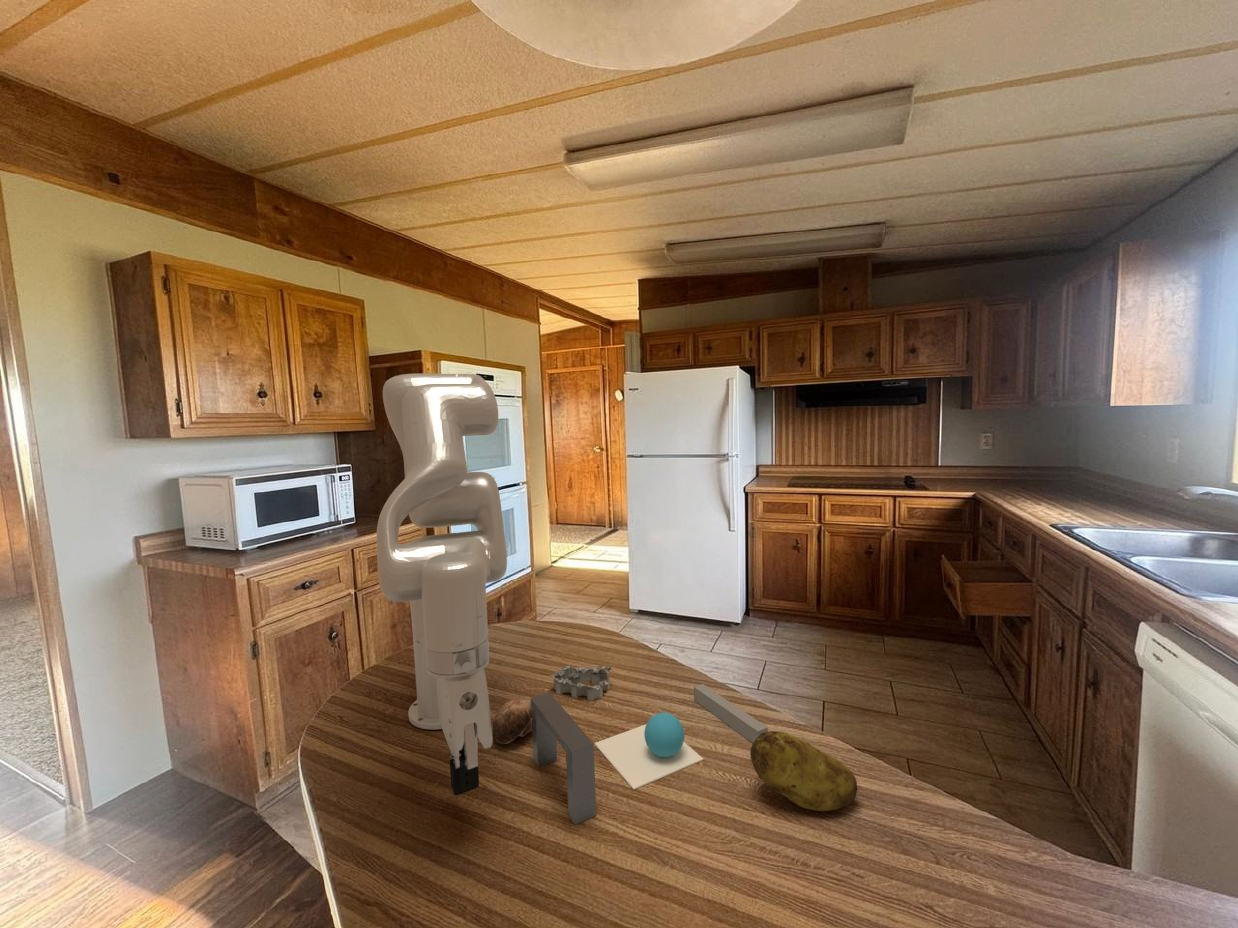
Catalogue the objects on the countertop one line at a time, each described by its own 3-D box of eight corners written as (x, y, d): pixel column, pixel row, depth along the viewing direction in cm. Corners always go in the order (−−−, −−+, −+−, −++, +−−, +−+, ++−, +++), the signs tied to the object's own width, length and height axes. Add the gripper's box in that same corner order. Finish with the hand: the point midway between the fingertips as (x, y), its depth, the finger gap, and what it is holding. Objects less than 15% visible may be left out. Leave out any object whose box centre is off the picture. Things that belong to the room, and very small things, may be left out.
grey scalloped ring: (614, 686, 101) (614, 666, 100) (596, 705, 94) (595, 684, 94) (569, 676, 105) (568, 657, 105) (548, 693, 99) (547, 673, 98)
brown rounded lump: (554, 708, 87) (530, 683, 86) (534, 752, 80) (507, 725, 79) (524, 718, 91) (500, 694, 90) (502, 761, 84) (476, 736, 83)
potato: (849, 839, 62) (849, 775, 62) (744, 800, 69) (743, 742, 68) (859, 795, 69) (860, 738, 69) (763, 764, 76) (762, 711, 75)
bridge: (574, 824, 66) (571, 751, 65) (533, 759, 79) (530, 697, 78) (596, 815, 67) (593, 743, 67) (552, 753, 80) (549, 692, 80)
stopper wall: (694, 700, 94) (693, 686, 94) (703, 696, 95) (702, 683, 95) (758, 746, 80) (758, 731, 80) (767, 742, 81) (767, 727, 81)
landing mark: (594, 744, 82) (594, 743, 82) (658, 720, 88) (658, 719, 88) (633, 789, 72) (633, 788, 72) (703, 759, 78) (703, 758, 78)
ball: (677, 724, 84) (652, 754, 81) (657, 698, 82) (630, 728, 80) (698, 740, 78) (672, 773, 76) (677, 713, 77) (649, 746, 75)
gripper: (505, 671, 61) (511, 815, 63) (473, 624, 74) (479, 745, 76) (437, 689, 57) (447, 842, 59) (416, 636, 70) (424, 763, 72)
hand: (465, 787), depth 68 cm, fingers closed
